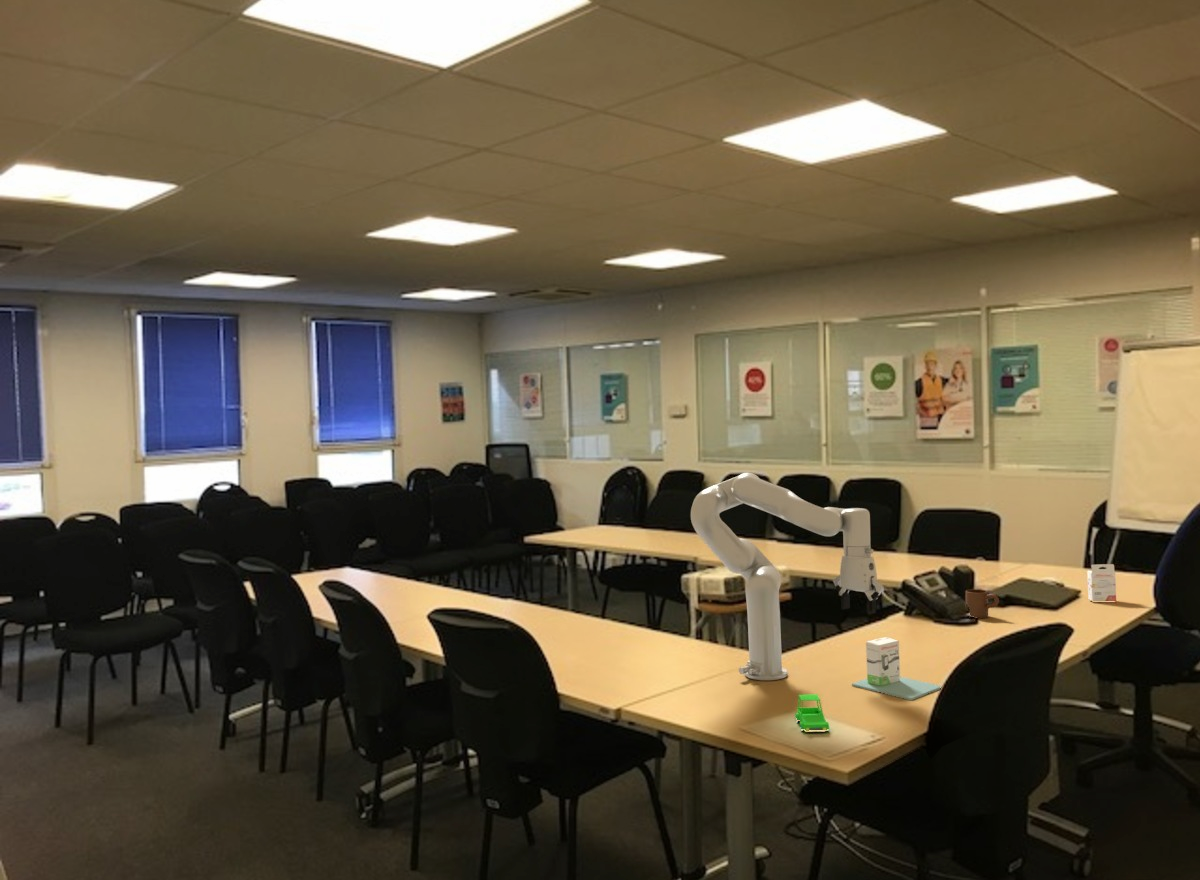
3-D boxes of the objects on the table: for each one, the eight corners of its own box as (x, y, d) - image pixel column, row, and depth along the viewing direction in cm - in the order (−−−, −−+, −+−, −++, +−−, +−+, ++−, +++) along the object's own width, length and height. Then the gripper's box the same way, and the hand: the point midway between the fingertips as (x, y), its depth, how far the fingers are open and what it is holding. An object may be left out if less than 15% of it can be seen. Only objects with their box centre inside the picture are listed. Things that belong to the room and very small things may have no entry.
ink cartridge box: (1111, 600, 354) (1110, 562, 354) (1116, 602, 349) (1115, 564, 349) (1087, 600, 356) (1086, 562, 355) (1092, 603, 351) (1091, 564, 350)
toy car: (794, 719, 236) (793, 694, 235) (821, 718, 235) (820, 693, 235) (802, 735, 224) (801, 708, 224) (830, 734, 224) (829, 707, 224)
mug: (1004, 618, 333) (1003, 592, 333) (993, 621, 328) (993, 595, 328) (972, 613, 342) (971, 588, 342) (962, 617, 338) (961, 591, 337)
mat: (911, 700, 246) (911, 698, 246) (851, 685, 261) (851, 683, 261) (942, 688, 255) (942, 686, 255) (883, 674, 270) (883, 672, 270)
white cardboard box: (880, 686, 257) (878, 644, 257) (866, 682, 261) (865, 641, 261) (901, 680, 262) (899, 639, 261) (887, 677, 266) (885, 636, 265)
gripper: (890, 552, 262) (892, 613, 262) (840, 546, 276) (841, 604, 276) (874, 556, 257) (876, 618, 258) (824, 549, 271) (825, 608, 271)
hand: (858, 610), depth 267 cm, fingers open, 8 cm apart
